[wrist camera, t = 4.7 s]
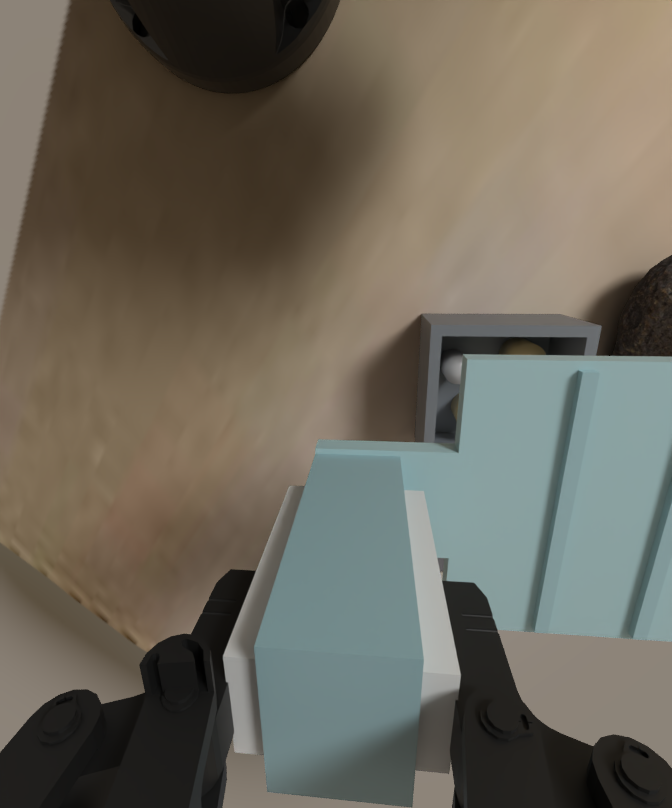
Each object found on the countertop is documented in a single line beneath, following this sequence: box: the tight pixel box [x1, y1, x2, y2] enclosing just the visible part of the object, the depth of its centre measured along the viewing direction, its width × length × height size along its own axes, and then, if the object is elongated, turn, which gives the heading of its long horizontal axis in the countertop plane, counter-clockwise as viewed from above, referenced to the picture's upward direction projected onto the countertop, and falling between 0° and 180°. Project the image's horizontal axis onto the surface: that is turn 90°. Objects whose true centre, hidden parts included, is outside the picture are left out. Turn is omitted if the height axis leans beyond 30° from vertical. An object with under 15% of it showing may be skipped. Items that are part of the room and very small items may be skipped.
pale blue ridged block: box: [254, 354, 672, 807], centre depth 12 cm, size 11×16×9 cm
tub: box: [415, 314, 602, 444], centre depth 30 cm, size 10×10×6 cm
